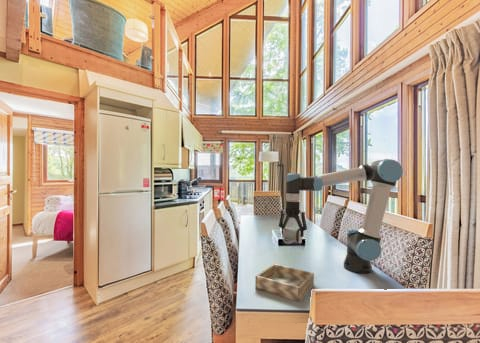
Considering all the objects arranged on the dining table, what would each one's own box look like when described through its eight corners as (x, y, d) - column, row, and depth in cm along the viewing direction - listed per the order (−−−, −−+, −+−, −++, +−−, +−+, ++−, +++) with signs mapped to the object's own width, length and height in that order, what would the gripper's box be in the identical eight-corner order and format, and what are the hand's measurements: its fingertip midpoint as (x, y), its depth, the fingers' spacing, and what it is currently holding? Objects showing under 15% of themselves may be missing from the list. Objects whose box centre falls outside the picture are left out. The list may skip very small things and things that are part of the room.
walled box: (313, 285, 124) (313, 272, 125) (299, 302, 108) (300, 288, 108) (273, 274, 136) (273, 263, 136) (255, 288, 120) (255, 276, 120)
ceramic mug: (289, 238, 146) (289, 225, 146) (302, 241, 141) (302, 227, 141) (280, 242, 138) (280, 229, 138) (293, 245, 133) (293, 231, 133)
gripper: (272, 200, 143) (272, 239, 143) (309, 203, 132) (308, 246, 132) (278, 199, 150) (277, 236, 150) (313, 201, 138) (313, 242, 138)
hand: (292, 241), depth 141 cm, fingers closed on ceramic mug, 8 cm apart
